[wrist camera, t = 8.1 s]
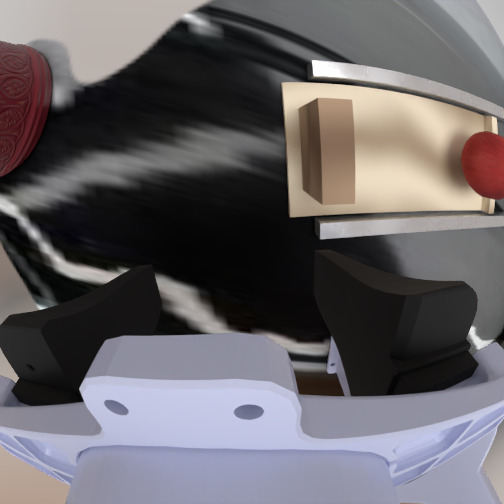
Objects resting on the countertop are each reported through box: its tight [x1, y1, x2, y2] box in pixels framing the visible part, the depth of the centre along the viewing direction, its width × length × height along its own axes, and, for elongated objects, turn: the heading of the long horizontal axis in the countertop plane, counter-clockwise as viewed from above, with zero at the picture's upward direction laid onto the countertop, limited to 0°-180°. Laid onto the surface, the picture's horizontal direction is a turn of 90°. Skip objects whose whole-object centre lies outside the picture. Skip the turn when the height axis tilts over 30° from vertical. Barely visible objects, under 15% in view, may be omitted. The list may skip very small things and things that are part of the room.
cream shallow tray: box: [281, 82, 498, 217], centre depth 16 cm, size 10×22×6 cm, turn 94°
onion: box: [461, 131, 504, 200], centre depth 15 cm, size 6×6×8 cm
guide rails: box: [307, 60, 504, 239], centre depth 18 cm, size 13×30×2 cm, turn 94°
